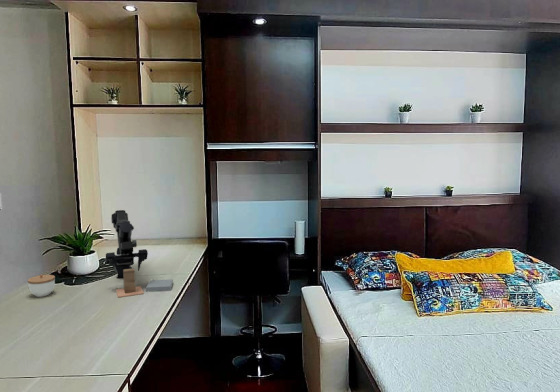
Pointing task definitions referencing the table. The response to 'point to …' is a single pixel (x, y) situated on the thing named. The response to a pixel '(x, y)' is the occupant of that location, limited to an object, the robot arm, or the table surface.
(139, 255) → the robot arm
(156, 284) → the grey ledge
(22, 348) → the table surface
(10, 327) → the table surface
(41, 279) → the lidded jar
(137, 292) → the terracotta mat
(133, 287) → the walnut block
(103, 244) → the table surface
